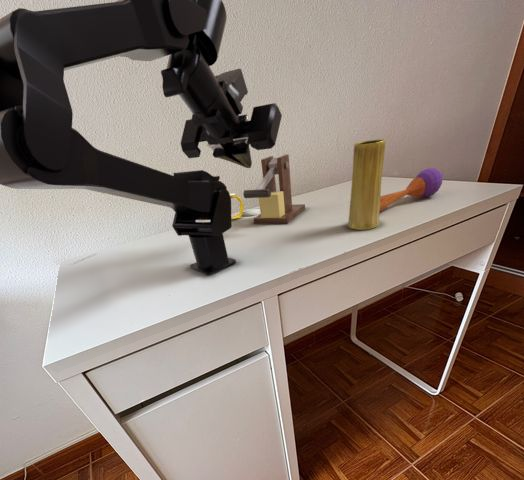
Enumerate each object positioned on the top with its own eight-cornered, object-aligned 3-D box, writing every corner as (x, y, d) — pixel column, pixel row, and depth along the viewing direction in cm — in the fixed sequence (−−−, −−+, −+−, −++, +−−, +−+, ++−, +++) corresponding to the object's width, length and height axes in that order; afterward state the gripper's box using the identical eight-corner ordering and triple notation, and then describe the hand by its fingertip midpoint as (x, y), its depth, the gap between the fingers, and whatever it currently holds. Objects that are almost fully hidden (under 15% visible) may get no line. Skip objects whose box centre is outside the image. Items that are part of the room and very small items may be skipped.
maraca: (360, 193, 65) (425, 167, 70) (363, 221, 68) (425, 193, 73) (380, 190, 60) (448, 162, 65) (383, 220, 63) (448, 191, 68)
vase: (384, 222, 60) (394, 137, 51) (369, 231, 57) (377, 143, 48) (357, 219, 64) (362, 140, 55) (342, 228, 61) (344, 145, 52)
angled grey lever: (269, 200, 62) (266, 189, 60) (245, 201, 65) (241, 190, 63) (290, 167, 68) (288, 156, 66) (267, 169, 70) (265, 158, 68)
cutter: (287, 223, 68) (282, 159, 61) (254, 223, 72) (245, 163, 64) (305, 209, 76) (302, 150, 68) (274, 209, 80) (268, 154, 72)
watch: (227, 222, 76) (222, 197, 73) (222, 221, 78) (217, 196, 75) (246, 216, 79) (242, 192, 75) (241, 215, 80) (237, 191, 77)
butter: (279, 218, 69) (277, 194, 66) (261, 218, 71) (258, 195, 68) (285, 213, 71) (283, 191, 68) (266, 214, 73) (264, 192, 70)
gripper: (269, 27, 41) (302, 120, 55) (170, 59, 49) (220, 133, 63) (251, 103, 40) (289, 177, 54) (154, 123, 48) (209, 183, 62)
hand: (249, 165), depth 58 cm, fingers closed
